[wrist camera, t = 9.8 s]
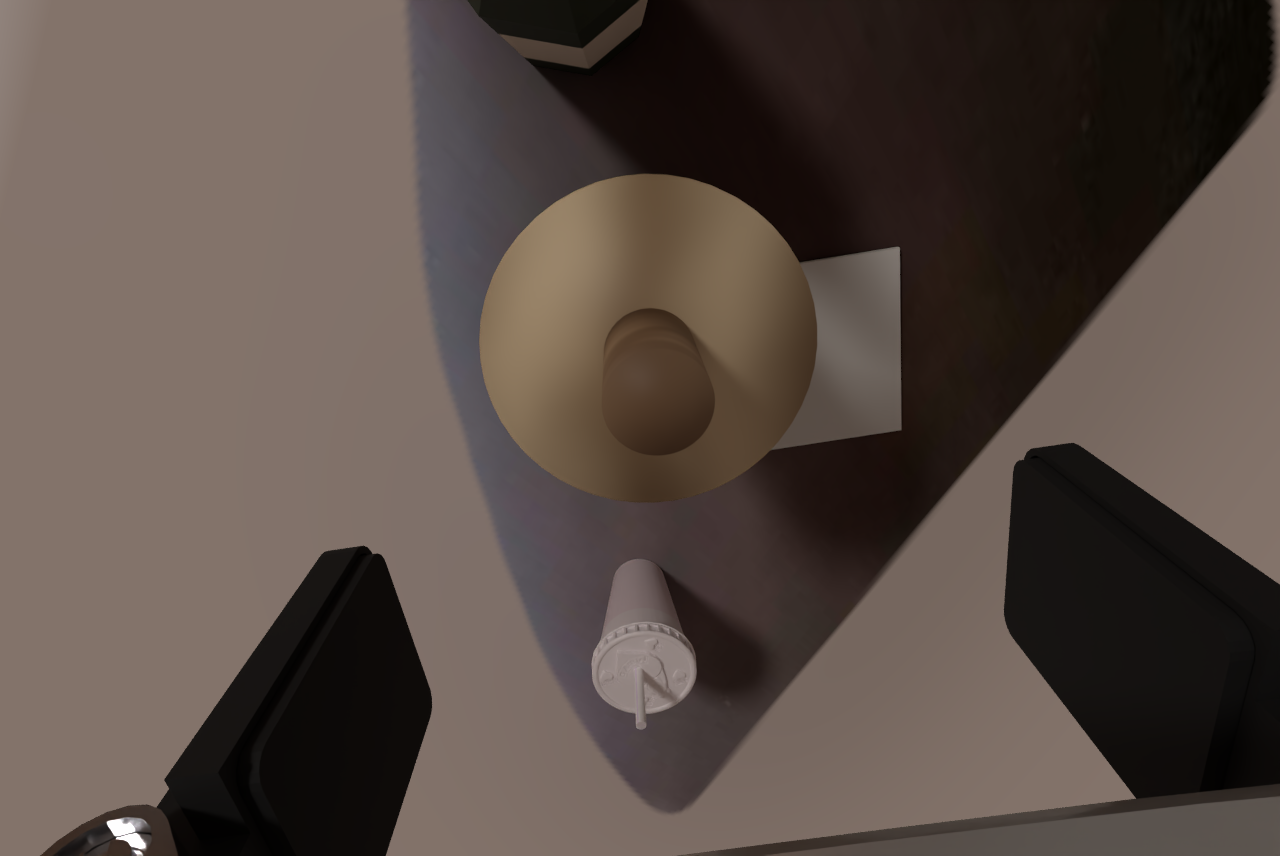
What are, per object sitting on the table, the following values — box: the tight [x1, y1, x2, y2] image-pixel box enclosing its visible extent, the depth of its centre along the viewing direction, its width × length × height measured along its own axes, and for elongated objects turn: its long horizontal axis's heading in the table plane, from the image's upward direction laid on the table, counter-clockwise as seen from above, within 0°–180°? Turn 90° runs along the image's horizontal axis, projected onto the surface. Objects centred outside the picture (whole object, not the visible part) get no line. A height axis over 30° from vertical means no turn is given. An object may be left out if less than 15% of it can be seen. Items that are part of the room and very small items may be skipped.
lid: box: [479, 173, 817, 502], centre depth 21 cm, size 11×11×6 cm
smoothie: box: [592, 559, 697, 729], centre depth 44 cm, size 6×6×14 cm
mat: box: [771, 247, 901, 450], centre depth 45 cm, size 12×12×1 cm
